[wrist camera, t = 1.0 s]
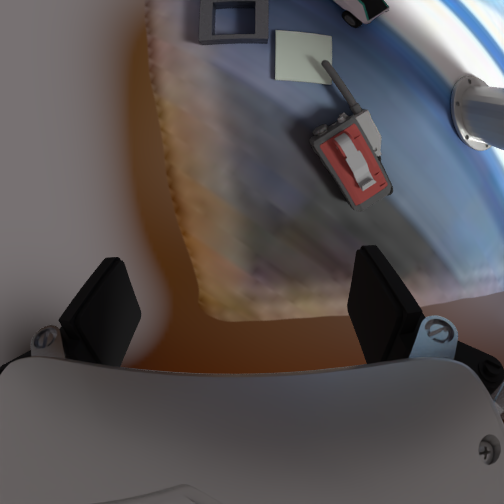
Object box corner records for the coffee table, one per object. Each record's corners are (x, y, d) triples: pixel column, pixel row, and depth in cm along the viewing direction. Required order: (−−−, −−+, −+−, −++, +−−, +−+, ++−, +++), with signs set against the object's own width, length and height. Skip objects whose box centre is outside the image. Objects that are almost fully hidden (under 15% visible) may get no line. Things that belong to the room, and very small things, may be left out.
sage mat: (330, 37, 25) (331, 36, 24) (330, 84, 28) (331, 84, 28) (275, 31, 25) (275, 30, 24) (275, 79, 28) (275, 79, 28)
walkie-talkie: (399, 181, 34) (327, 58, 26) (414, 192, 31) (337, 52, 22) (352, 213, 37) (270, 92, 29) (362, 226, 33) (273, 91, 25)
